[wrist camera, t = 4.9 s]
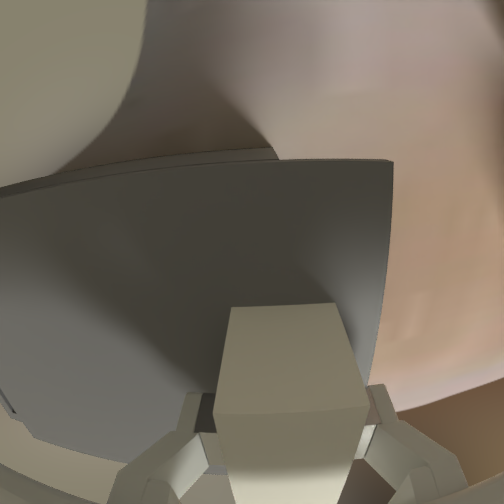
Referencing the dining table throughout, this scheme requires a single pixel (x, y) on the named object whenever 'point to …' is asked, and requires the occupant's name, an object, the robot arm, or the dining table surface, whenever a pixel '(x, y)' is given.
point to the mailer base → (130, 167)
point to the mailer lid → (201, 313)
